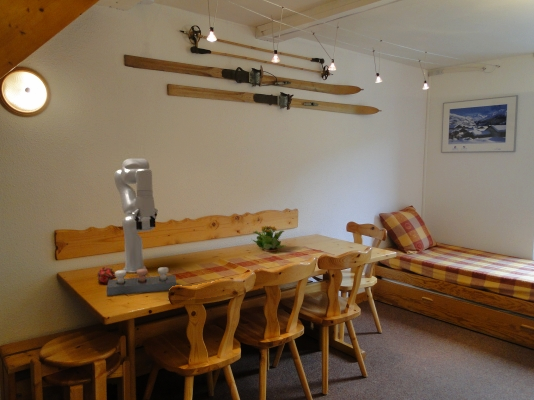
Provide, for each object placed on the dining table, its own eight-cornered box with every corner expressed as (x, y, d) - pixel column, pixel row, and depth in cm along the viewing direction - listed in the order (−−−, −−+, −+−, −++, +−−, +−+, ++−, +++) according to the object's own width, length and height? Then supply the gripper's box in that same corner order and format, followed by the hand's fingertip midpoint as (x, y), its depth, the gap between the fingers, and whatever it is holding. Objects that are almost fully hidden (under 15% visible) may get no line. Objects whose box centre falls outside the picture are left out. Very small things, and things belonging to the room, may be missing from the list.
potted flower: (295, 250, 285) (295, 225, 283) (272, 256, 268) (272, 230, 266) (269, 245, 303) (269, 221, 301) (245, 250, 285) (245, 225, 284)
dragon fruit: (103, 281, 219) (112, 290, 211) (90, 275, 214) (98, 284, 205) (112, 268, 221) (122, 276, 213) (100, 261, 216) (109, 269, 207)
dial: (137, 280, 205) (136, 269, 204) (147, 280, 206) (147, 268, 205) (137, 283, 200) (136, 271, 199) (147, 283, 201) (147, 271, 201)
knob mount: (109, 287, 205) (108, 280, 204) (175, 282, 213) (174, 275, 213) (106, 295, 193) (106, 287, 193) (176, 289, 202) (176, 281, 201)
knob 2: (158, 279, 207) (157, 267, 207) (168, 278, 209) (168, 266, 208) (158, 282, 203) (158, 270, 202) (168, 281, 204) (168, 269, 203)
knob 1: (115, 282, 202) (115, 270, 201) (126, 281, 203) (126, 269, 203) (115, 285, 197) (114, 273, 196) (126, 284, 198) (125, 272, 198)
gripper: (150, 192, 214) (151, 225, 215) (126, 195, 198) (127, 230, 200) (162, 193, 211) (163, 226, 212) (138, 195, 195) (139, 230, 196)
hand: (146, 228), depth 206 cm, fingers open, 9 cm apart
